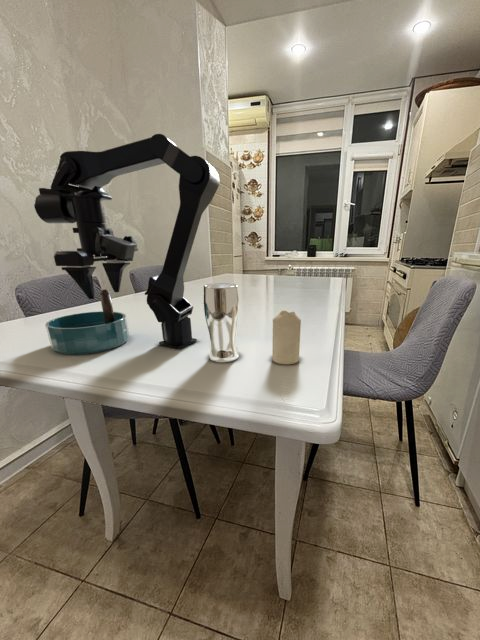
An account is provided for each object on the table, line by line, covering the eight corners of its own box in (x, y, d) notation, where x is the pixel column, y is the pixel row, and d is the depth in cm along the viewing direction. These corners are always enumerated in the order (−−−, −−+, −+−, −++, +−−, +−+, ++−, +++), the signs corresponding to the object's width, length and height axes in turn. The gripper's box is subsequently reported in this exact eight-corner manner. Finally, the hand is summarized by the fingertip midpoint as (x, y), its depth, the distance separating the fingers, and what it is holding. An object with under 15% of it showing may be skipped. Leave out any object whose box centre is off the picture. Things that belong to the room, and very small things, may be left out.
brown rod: (105, 339, 70) (96, 291, 65) (104, 336, 72) (95, 289, 68) (121, 337, 71) (112, 289, 67) (119, 333, 74) (111, 288, 70)
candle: (268, 357, 61) (268, 310, 58) (290, 353, 63) (292, 308, 60) (279, 366, 57) (280, 316, 53) (303, 362, 59) (306, 313, 55)
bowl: (143, 339, 73) (140, 315, 71) (79, 360, 60) (72, 332, 57) (103, 330, 80) (99, 308, 78) (37, 347, 67) (30, 322, 65)
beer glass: (235, 364, 58) (232, 288, 52) (202, 361, 59) (196, 287, 54) (244, 352, 64) (242, 283, 59) (214, 350, 65) (210, 282, 60)
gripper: (97, 219, 53) (112, 304, 58) (148, 225, 70) (156, 290, 76) (42, 220, 54) (62, 302, 60) (105, 225, 72) (116, 289, 77)
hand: (105, 295), depth 68 cm, fingers open, 9 cm apart
